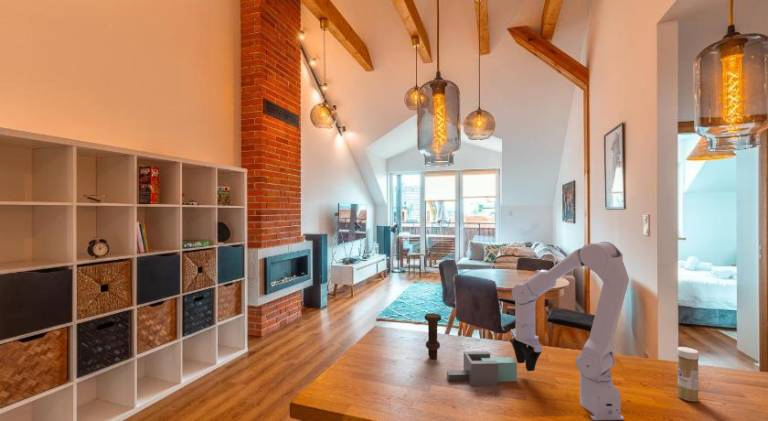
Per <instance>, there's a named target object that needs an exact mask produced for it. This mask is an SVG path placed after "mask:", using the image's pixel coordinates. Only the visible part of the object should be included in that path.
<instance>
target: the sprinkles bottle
mask: <svg viewBox="0 0 768 421" xmlns="http://www.w3.org/2000/svg"><path fill="white" fill-rule="evenodd" d="M676 354H677V394H676V395H677V396H678V397H679V398H680V399H682V400H684V401H688V402H694V403H695V402H699V360H700V355H699V354H700V352H699V351H698V350H697V349H694V348H691V347H685V346H678V347H677V350H676Z"/></svg>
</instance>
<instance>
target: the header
mask: <svg viewBox="0 0 768 421" xmlns="http://www.w3.org/2000/svg"><path fill="white" fill-rule="evenodd" d="M480 357H491V353H490V351H489V350H488V351H487V350H486V351H484V350H483V351H480V350H479V351H474V350H473V351H463V369H459V370H458V369H455V370H453V369H452V370H451V369H450V370H446V378H447V380H448V382H468V383H469V385H470V386H471V387H498V386H499V381H498V363H497V361H480Z"/></svg>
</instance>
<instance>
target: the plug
mask: <svg viewBox="0 0 768 421" xmlns="http://www.w3.org/2000/svg"><path fill="white" fill-rule="evenodd" d="M480 361H497V363H498V382H517V381H518V363H517V360H515V359H514V357H512V356H506V357H504V356H497V357H496V356H495V357H491V356H490V357H480Z"/></svg>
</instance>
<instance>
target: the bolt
mask: <svg viewBox="0 0 768 421" xmlns="http://www.w3.org/2000/svg"><path fill="white" fill-rule="evenodd" d="M424 320H425V321H427V326H428V328H427V329H428V330H427V335H428V340H427V341H426V342H425V347H426V348H427V350H428V352H427V354H428V357H429V359H431V360H432V359H433V360H436V359H437V358H438V350H439V349H440V347H441V344H440V342H439V341H438V323H439V322H440V321H441V320H442V316H441V315H440V314H438V313H434V312H433V313H432V312H431V313H426V314H425V315H424Z"/></svg>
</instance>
